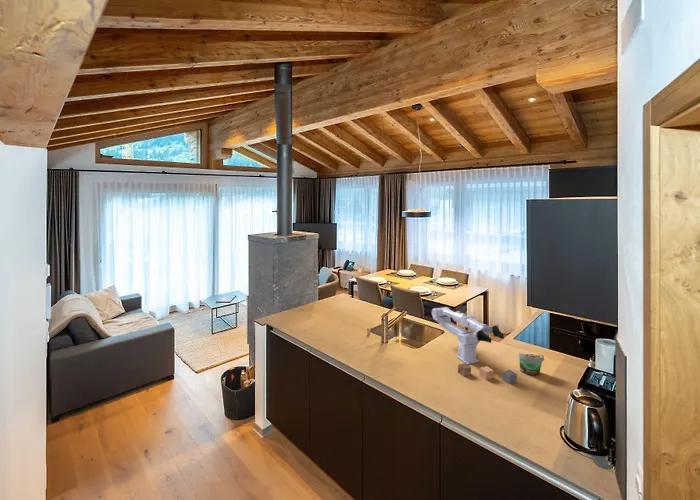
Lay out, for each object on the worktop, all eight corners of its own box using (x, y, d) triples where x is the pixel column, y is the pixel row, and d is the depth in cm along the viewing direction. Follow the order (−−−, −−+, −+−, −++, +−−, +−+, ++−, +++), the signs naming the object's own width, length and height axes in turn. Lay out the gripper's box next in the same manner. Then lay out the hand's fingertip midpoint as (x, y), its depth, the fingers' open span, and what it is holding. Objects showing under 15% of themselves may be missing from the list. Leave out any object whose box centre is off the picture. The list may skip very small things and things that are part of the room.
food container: (520, 376, 179) (522, 357, 177) (516, 370, 185) (518, 352, 183) (546, 378, 177) (548, 359, 176) (541, 372, 183) (543, 353, 182)
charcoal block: (502, 379, 176) (502, 371, 175) (509, 378, 177) (509, 369, 177) (509, 384, 172) (509, 375, 171) (516, 382, 173) (516, 373, 172)
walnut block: (457, 372, 183) (458, 364, 182) (464, 370, 184) (465, 362, 184) (463, 376, 179) (463, 368, 178) (470, 374, 180) (471, 366, 179)
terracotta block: (479, 376, 179) (480, 367, 178) (486, 374, 181) (487, 366, 180) (485, 380, 175) (486, 371, 174) (492, 378, 177) (493, 370, 176)
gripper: (467, 324, 183) (485, 335, 171) (489, 317, 188) (508, 328, 176) (467, 336, 185) (485, 348, 173) (489, 329, 190) (508, 340, 177)
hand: (497, 338), depth 174 cm, fingers open, 7 cm apart
